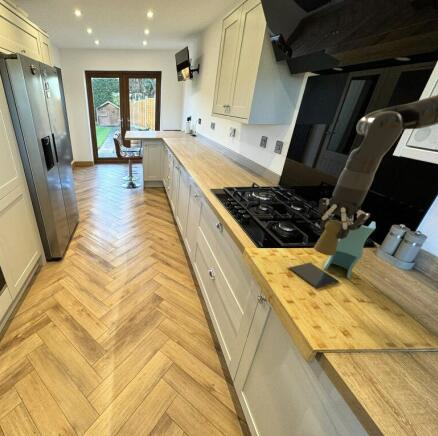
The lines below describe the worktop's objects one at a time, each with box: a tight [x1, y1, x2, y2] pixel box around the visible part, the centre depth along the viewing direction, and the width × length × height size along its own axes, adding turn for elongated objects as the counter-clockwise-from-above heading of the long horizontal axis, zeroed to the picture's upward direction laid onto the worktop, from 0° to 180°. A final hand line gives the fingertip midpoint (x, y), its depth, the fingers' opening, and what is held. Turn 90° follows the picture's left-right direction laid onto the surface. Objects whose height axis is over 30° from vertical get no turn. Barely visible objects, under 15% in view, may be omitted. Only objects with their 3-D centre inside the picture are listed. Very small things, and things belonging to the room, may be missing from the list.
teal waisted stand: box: [323, 217, 377, 279], centre depth 84 cm, size 8×8×20 cm
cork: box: [313, 219, 343, 257], centre depth 78 cm, size 6×6×11 cm
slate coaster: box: [288, 262, 340, 289], centre depth 85 cm, size 11×11×1 cm
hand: (331, 233), depth 77 cm, fingers closed on cork, 5 cm apart
